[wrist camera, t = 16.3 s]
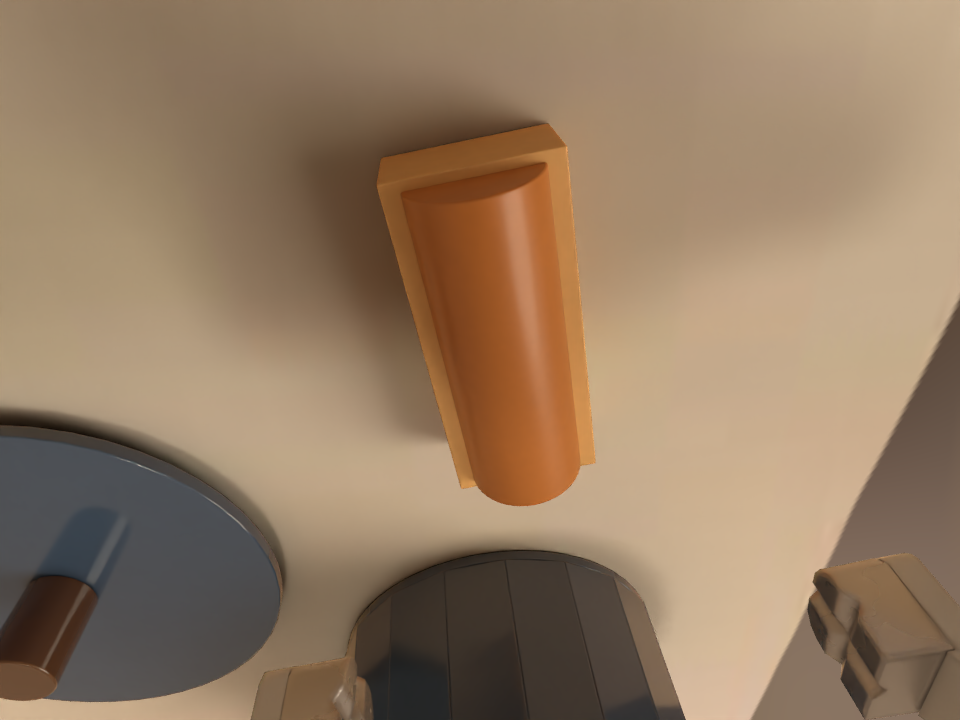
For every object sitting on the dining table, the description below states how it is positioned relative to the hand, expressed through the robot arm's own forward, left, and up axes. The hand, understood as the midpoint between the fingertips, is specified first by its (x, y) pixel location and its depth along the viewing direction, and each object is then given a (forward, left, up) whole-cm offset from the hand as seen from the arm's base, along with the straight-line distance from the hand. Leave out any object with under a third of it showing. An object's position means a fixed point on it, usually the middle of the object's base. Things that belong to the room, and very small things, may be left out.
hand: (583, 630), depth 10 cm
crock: (+20, -3, -11) cm, 23 cm away
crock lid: (+8, -19, -11) cm, 24 cm away
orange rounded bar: (0, 0, -11) cm, 11 cm away
